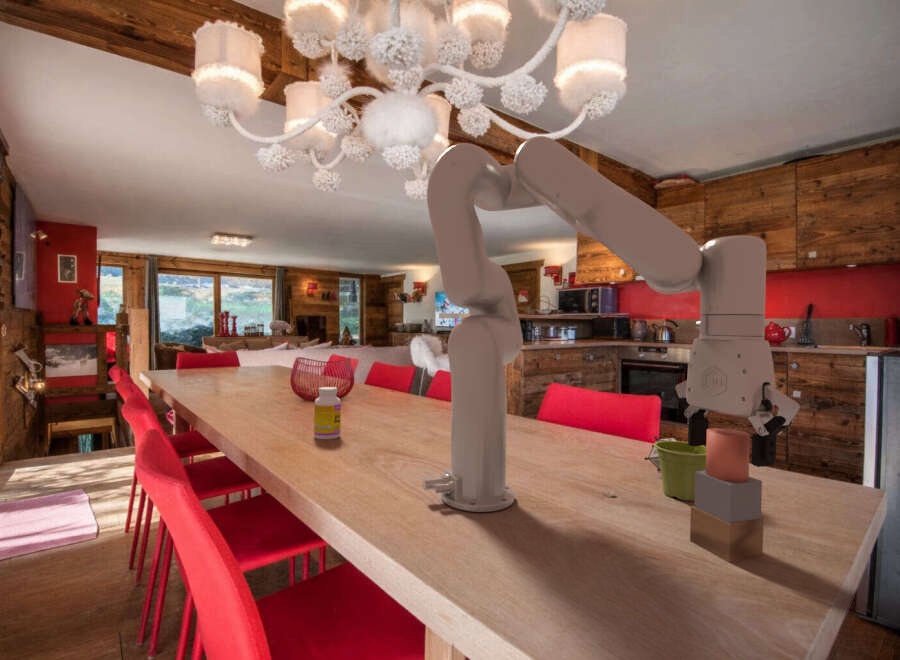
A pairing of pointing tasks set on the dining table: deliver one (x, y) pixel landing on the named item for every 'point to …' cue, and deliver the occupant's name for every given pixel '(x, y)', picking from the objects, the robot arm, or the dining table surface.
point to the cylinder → (727, 454)
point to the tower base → (726, 536)
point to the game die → (653, 454)
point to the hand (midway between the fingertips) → (728, 454)
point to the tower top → (728, 498)
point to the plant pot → (680, 467)
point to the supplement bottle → (327, 414)
